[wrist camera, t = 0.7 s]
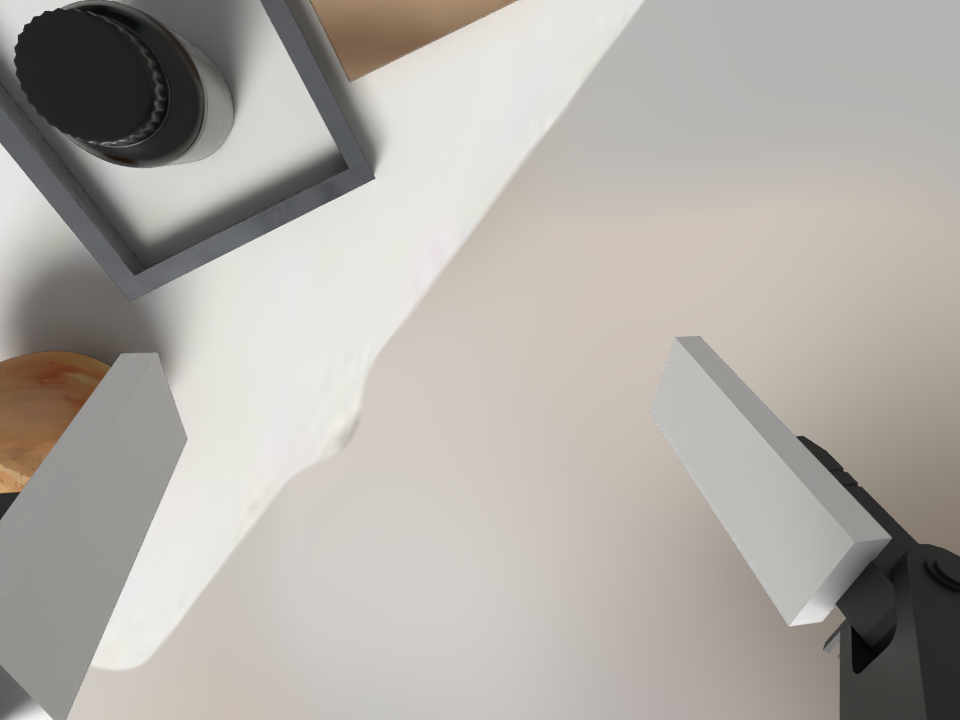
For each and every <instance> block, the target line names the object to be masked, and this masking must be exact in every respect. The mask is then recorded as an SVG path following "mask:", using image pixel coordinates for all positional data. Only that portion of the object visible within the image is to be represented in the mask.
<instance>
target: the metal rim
mask: <svg viewBox="0 0 960 720" xmlns="http://www.w3.org/2000/svg"><path fill="white" fill-rule="evenodd" d="M260 1H261V3H262V5H263V7H264V9H265V10H266V12H267V14H268V16H269V18H270V20H271V22H272V24H273V26H274V28H275V29H276V31H277V33H278V35H279V37H280V39H281V41H282V43H283V45H284V46H285V48H286V50H287V52H288V54H289V56H290V58H291V60H292V62H293V64H294V65H295V67H296V69H297V71H298V73H299V75H300V77H301V79H302V81H303V82H304V84H305V86H306V88H307V90H308V92H309V94H310V96H311V98H312V99H313V101H314V103H315V105H316V107H317V109H318V111H319V113H320V115H321V117H322V118H323V120H324V122H325V124H326V126H327V128H328V130H329V132H330V134H331V135H332V137H333V139H334V141H335V143H336V145H337V147H338V149H339V151H340V153H341V154H342V156H343V158H344V160H345V162H346V164H347V166H348V169H346V170H344V171H342V172H340V173H338V174H336V175H334V176H332V177H330V178H328V179H326V180H324V181H322V182H320V183H318V184H316V185H314V186H312V187H310V188H308V189H306V190H304V191H302V192H300V193H298V194H296V195H294V196H292V197H290V198H288V199H286V200H284V201H282V202H280V203H278V204H276V205H274V206H271V207H269V208H267V209H265V210H263V211H261V212H259V213H257V214H255V215H253V216H251V217H249V218H247V219H245V220H243V221H241V222H239V223H237V224H235V225H233V226H231V227H229V228H227V229H225V230H223V231H221V232H219V233H217V234H215V235H213V236H211V237H209V238H207V239H205V240H203V241H201V242H199V243H197V244H195V245H193V246H191V247H189V248H187V249H185V250H183V251H181V252H179V253H177V254H175V255H173V256H171V257H169V258H167V259H165V260H163V261H161V262H159V263H157V264H155V265H153V266H151V267H149V268H147V269H145V268H144V267H143V266H142V264H141V263H140V262H139V260H138V259H137V258H136V257H135V255H134V254H133V253H132V251H131V250H130V249H129V248H128V246H127V245H126V244H125V242H124V241H123V240H122V239H121V237H120V236H119V235H118V233H117V232H116V231H115V230H114V228H113V227H112V226H111V224H110V223H109V222H108V221H107V219H106V218H105V217H104V215H103V214H102V213H101V212H100V210H99V209H98V208H97V206H96V205H95V204H94V203H93V201H92V200H91V199H90V197H89V196H88V195H87V193H86V192H85V191H84V190H83V188H82V187H81V186H80V184H79V183H78V182H77V181H76V179H75V178H74V177H73V175H72V174H71V173H70V172H69V170H68V169H67V168H66V166H65V165H64V164H63V163H62V161H61V160H60V159H59V157H58V156H57V155H56V154H55V152H54V151H53V150H52V148H51V147H50V146H49V145H48V143H47V142H46V141H45V139H44V138H43V137H42V136H41V134H40V133H39V132H38V130H37V129H36V128H35V127H34V125H33V124H32V123H31V121H30V120H29V119H28V118H27V116H26V115H25V114H24V112H23V111H22V110H21V108H20V107H19V106H18V105H17V103H16V102H15V101H14V99H13V98H12V97H11V96H10V94H9V93H8V92H7V90H6V89H5V88H4V87H3V85H2V84H1V83H0V143H1V144H2V145H3V147H4V148H5V149H6V150H7V151H8V153H9V154H10V155H11V156H12V158H13V159H14V160H15V161H16V162H17V164H18V165H19V166H20V167H21V169H22V170H23V171H24V172H25V173H26V175H27V176H28V177H29V178H30V180H31V181H32V182H33V183H34V184H35V186H36V187H37V188H38V189H39V191H40V192H41V193H42V194H43V195H44V197H45V198H46V199H47V200H48V202H49V203H50V204H51V205H52V207H53V208H54V209H55V210H56V211H57V213H58V214H59V215H60V216H61V218H62V219H63V220H64V221H65V222H66V224H67V225H68V226H69V227H70V229H71V230H72V231H73V232H74V233H75V235H76V236H77V237H78V238H79V240H80V241H81V242H82V243H83V244H84V246H85V247H86V248H87V249H88V251H89V252H90V253H91V254H92V255H93V257H94V258H95V259H96V260H97V262H98V263H99V264H100V265H101V267H102V268H103V269H104V270H105V271H106V273H107V274H108V275H109V276H110V278H111V279H112V280H113V281H114V282H115V284H116V285H117V286H118V287H119V289H120V290H121V291H122V292H123V293H124V295H125V296H126V297H127V298H128V300H129V301H132V300H134V299H136V298H138V297H140V296H142V295H144V294H146V293H148V292H150V291H152V290H154V289H156V288H158V287H160V286H162V285H164V284H166V283H168V282H170V281H172V280H174V279H176V278H178V277H180V276H182V275H184V274H186V273H188V272H190V271H192V270H194V269H196V268H198V267H200V266H202V265H204V264H206V263H208V262H210V261H212V260H214V259H216V258H218V257H220V256H222V255H224V254H226V253H228V252H230V251H232V250H234V249H236V248H238V247H240V246H242V245H244V244H246V243H248V242H250V241H252V240H254V239H256V238H258V237H260V236H262V235H264V234H266V233H268V232H270V231H272V230H274V229H276V228H278V227H280V226H282V225H284V224H286V223H288V222H290V221H292V220H294V219H296V218H298V217H300V216H302V215H304V214H306V213H308V212H310V211H312V210H314V209H316V208H318V207H320V206H322V205H324V204H326V203H328V202H330V201H332V200H334V199H336V198H338V197H340V196H342V195H344V194H346V193H348V192H350V191H352V190H354V189H356V188H358V187H360V186H362V185H364V184H366V183H368V182H370V181H371V180H373V179H375V177H374V175H373V173H372V171H371V169H370V167H369V165H368V163H367V161H366V159H365V157H364V155H363V153H362V151H361V149H360V147H359V145H358V143H357V141H356V139H355V137H354V135H353V133H352V132H351V130H350V128H349V126H348V124H347V122H346V120H345V118H344V116H343V114H342V112H341V110H340V108H339V106H338V104H337V102H336V100H335V98H334V96H333V94H332V92H331V90H330V88H329V86H328V84H327V82H326V80H325V78H324V77H323V75H322V73H321V71H320V69H319V67H318V65H317V63H316V61H315V59H314V57H313V55H312V53H311V51H310V49H309V47H308V45H307V43H306V41H305V39H304V37H303V35H302V33H301V31H300V29H299V27H298V25H297V24H296V22H295V20H294V18H293V16H292V14H291V12H290V10H289V8H288V6H287V4H286V2H285V0H260Z"/></svg>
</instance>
